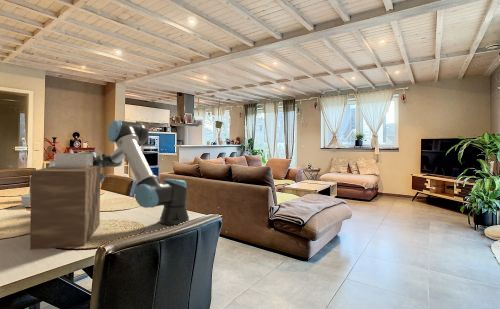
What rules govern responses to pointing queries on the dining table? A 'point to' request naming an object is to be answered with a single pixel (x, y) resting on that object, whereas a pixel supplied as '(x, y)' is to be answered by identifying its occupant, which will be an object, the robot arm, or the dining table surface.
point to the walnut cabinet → (64, 206)
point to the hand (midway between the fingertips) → (85, 151)
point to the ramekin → (25, 200)
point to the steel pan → (74, 160)
